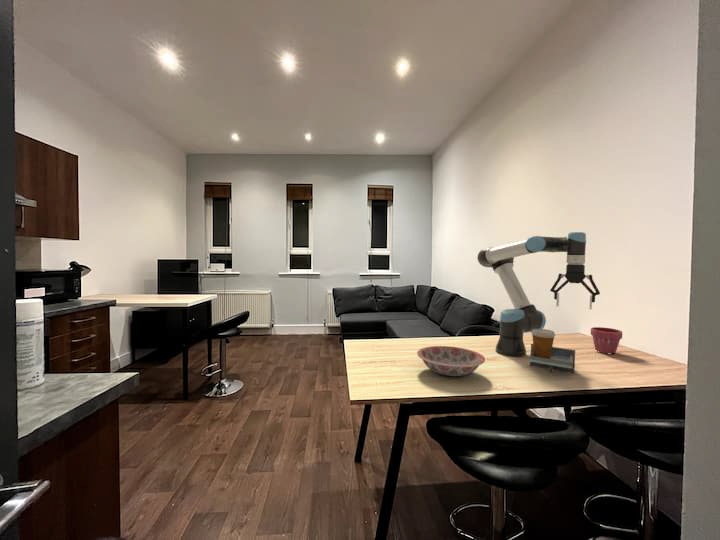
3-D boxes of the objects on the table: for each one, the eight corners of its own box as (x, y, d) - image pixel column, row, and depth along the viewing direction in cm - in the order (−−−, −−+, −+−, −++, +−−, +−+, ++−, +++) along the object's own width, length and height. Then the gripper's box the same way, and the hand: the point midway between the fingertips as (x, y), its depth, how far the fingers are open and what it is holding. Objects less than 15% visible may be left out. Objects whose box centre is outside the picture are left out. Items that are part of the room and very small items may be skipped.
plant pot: (583, 348, 191) (584, 327, 191) (604, 348, 194) (605, 326, 193) (606, 356, 177) (607, 332, 177) (627, 355, 180) (629, 332, 179)
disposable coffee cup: (558, 360, 145) (559, 333, 145) (536, 360, 146) (537, 333, 145) (547, 354, 155) (548, 328, 154) (526, 353, 155) (527, 328, 155)
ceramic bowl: (490, 388, 131) (491, 368, 130) (415, 381, 136) (416, 362, 136) (479, 364, 159) (479, 348, 159) (417, 359, 165) (418, 343, 165)
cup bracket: (526, 374, 148) (527, 352, 147) (530, 362, 164) (531, 342, 164) (574, 383, 138) (575, 359, 137) (574, 369, 155) (575, 348, 154)
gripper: (545, 263, 165) (543, 305, 166) (607, 265, 151) (605, 311, 152) (547, 263, 172) (545, 304, 172) (607, 264, 157) (605, 309, 158)
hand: (573, 307), depth 162 cm, fingers open, 13 cm apart
